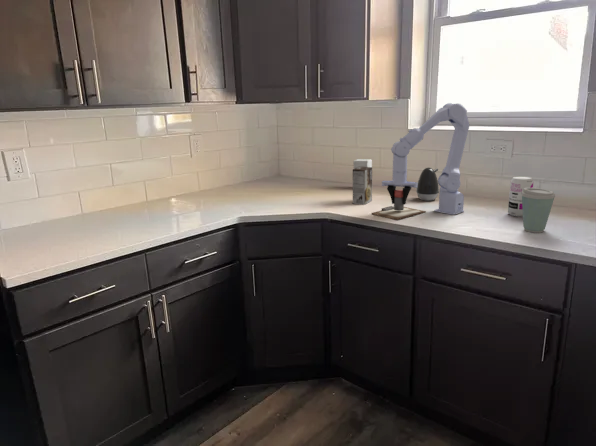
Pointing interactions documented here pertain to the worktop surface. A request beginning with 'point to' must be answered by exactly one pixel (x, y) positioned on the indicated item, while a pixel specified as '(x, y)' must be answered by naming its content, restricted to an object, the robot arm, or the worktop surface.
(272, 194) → the worktop surface
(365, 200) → the coffee box
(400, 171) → the robot arm
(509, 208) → the supplement can
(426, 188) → the pump dispenser
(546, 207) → the disposable coffee cup
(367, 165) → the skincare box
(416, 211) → the clipboard
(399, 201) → the marker
